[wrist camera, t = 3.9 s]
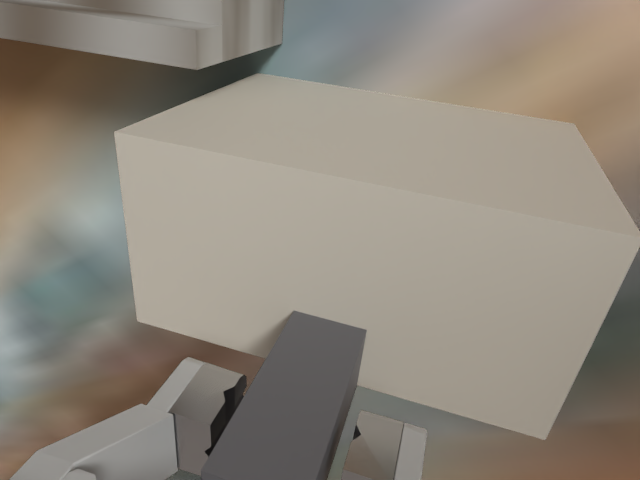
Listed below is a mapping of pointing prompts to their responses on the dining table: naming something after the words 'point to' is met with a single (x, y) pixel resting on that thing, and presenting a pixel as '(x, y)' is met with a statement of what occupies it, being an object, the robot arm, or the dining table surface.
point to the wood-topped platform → (148, 28)
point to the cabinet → (370, 257)
